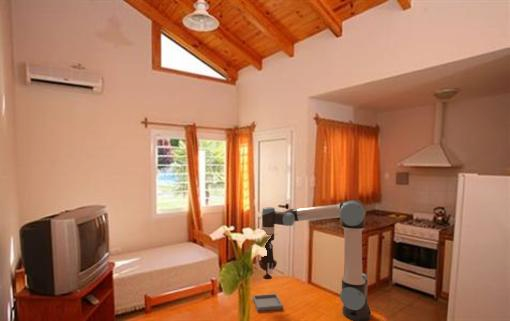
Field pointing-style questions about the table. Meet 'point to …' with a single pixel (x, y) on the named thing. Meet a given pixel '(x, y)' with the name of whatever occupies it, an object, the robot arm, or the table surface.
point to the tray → (267, 302)
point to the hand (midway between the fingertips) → (267, 270)
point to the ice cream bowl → (266, 266)
